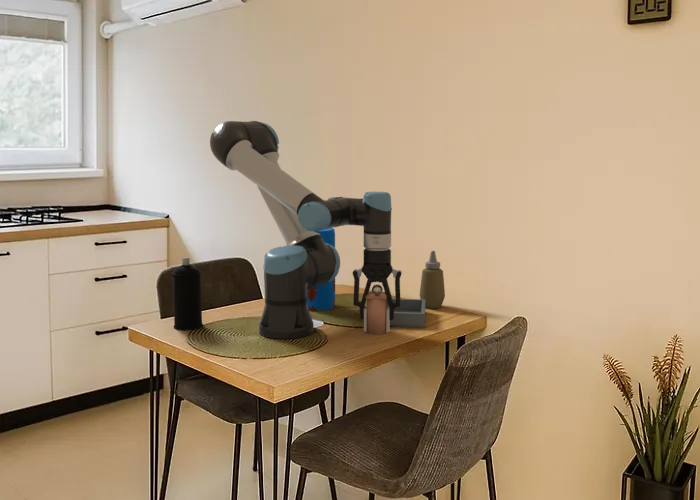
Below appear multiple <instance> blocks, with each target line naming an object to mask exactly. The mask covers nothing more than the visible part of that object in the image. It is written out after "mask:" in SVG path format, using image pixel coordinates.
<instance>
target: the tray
mask: <svg viewBox="0 0 700 500" xmlns="http://www.w3.org/2000/svg"><path fill="white" fill-rule="evenodd" d="M392 299H393V303H394V302H396V298H392ZM400 300H401V303H400V306H399V307H396V308H394V319H393V320H390V327H394V328H395V327H397V328H402V327H403V328H425V320H426V308H425V301H426V299H420V298H400ZM387 307H389V305H388V301H387Z"/></svg>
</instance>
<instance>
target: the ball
mask: <svg viewBox="0 0 700 500" xmlns="http://www.w3.org/2000/svg"><path fill="white" fill-rule="evenodd" d="M371 287H372V288H371V292H373V294H375V295H380V294H381V293H382V292H384V288H383V285H382V284H373V286H371Z"/></svg>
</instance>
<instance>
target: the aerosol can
mask: <svg viewBox="0 0 700 500" xmlns="http://www.w3.org/2000/svg"><path fill="white" fill-rule="evenodd" d="M181 260H182V261H181V263H182V265H179V266H177V267H176V268H175V269H174V270H173V271H172V272H171V273H170V274H171V276H172V297H173V299H172V300H173V321H174V324H173V325H174V326H173V328H174V329H175V330H177V331H194V330H199V329H201V328H202V327H204V324H203V314H202V284H201V283H202V282H201V281H202V280H201V273H202V271H201V270H199V268H198V267H196V266H194V265H192V264H190V257H188V256H187V257H182V258H181Z"/></svg>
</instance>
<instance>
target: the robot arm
mask: <svg viewBox="0 0 700 500" xmlns="http://www.w3.org/2000/svg"><path fill="white" fill-rule="evenodd" d="M209 138H210V139H209V146H210V150H211V152H212V155H213V156H214V157H215V159H216V160H217V161H219V162H220V163H221V164H222V165H223V166H225V168H227V169H229V170H230V171H237V172H238V173H240V174H241V175H243V176H244V177H245V178H247V179H248V180H249V181H250V182H251V183H253V184H255V185H256V187H257V188H258V190H259V192H260V195H261V197H262V199H263V200H264V203H265V204H266V206H267V208H268V210H269V212H270V214H271V215H272V218H273V220H274V222H275V224H276V226H277V228H278V231H279V232H280V233H281V236H282V238H283V240H284V242H285V244H286V245H284V246H277V247H273V248H271V249H269V250H268V251H266V252H265V254H264V259H263V262H264V263H263V274H264V275H263V278H264V279H263V280H264V282H263V283H264V307H263V310H262V313H261V317H260V321H259V325H258V331H259V332H258V333H259V334H260V335H261V336H263V337H265V338H270V339H279V340H281V339H285V340H286V339H288V340H290V339H299V338H303V337H307V336H310V335H312V334H313V333H314V331H315V329H314V321H313V318H312V315H311V312H310V310H309V309H308V306H307V289H310V288H313V287H316V286H321V285H325V284H326V283H328V282H330V281H332V280H333V279H334V278H335V279H336V277H337V275H338V274H339V272H340V267H341V257H340V254H339V252H338V250H337V249H336V247H335V248H334V247H333V246H332V245H329V244H327V243H325V242H324V241H323V239H322V237H321V235H320V234H319V233H316V232H313V231H321V230H324V229H328V228H337V227H342V226H343V227H344V226H359V227H360V226H361V227H362V226H363V247H364V249H363V265H362V267H361V268H358V269H357V268H356V269H353V271H352V276H353V279H354V280H353V281H354V282H353V301H352V302H353V305H352V306H355V307H358V308H359V319H360V320H363V332H365V333H367V306H366V304H367V299H366V295H368V293H369V292H370V290H371V287H372V283H381V286H382V288H383V292H385V294H386V295H387V301H388V305H389V307H387V324H386V332H387V333H390V331H391V330H390V329H391V326H390V320H393V319H394V308H396V307H399V306H400V303H401V300H400V299H401V280H400V279H401V276H402V273H403V272H402V270H397V269H395V268H393V266H392V249H391V247H392V210H393V207H392V196H391V194H390V193H389V192H387V191H366V192H364V194H363V197H362V198H355V197H343V196H336V197H335V196H332V197H329V198H328V199H326V200H325V199H323V198H321V197H320V196H318V195H317V194H315V193H314V192H313V191H312V190H310V189H309V188H308V187H306V186H304V185H303V184H302V183H301V182H300V181H298V180H296V179H295V178H294V177H292V176H291V175H290V174H288V173H287V172H285V171H284V170H283V169H281V167H280V166H281V165H279V162H278V160H279V158H280V153H279V144H280V142H279V141H280V140H279V137H278V134H277V132H276V131H275V129H274V128H273V126H271V125H269V124H267V123H265V122H262V121H257V120H249V121H235V120H228V121H224V122H221V123H219V124H218V125H217V126H216V127H214V129H213V131H212V133H211V134H210V137H209ZM362 273H363V275H364V276H365V278H366V279H367V280H366V283H365V287H364V290H363V293H362V294H363V295H362V296H361V300H360V280H361V279H360V277H361V276H362ZM391 274H392V275H393V276H392V278H394V291H395V299H396V302H394V303H393V299H394V298H393V296H392V294H391V292H392V291H391V288H390V286H389V282H388V278H389V277H390V276H391Z"/></svg>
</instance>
